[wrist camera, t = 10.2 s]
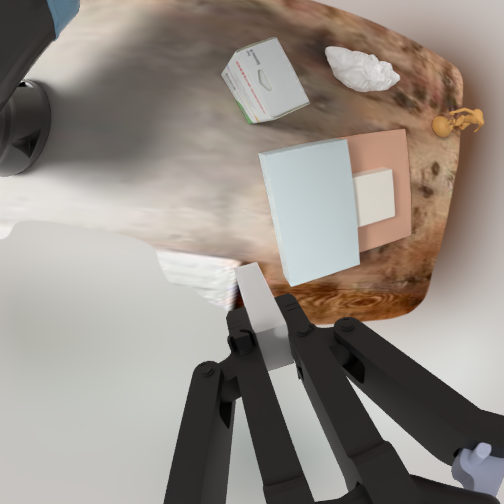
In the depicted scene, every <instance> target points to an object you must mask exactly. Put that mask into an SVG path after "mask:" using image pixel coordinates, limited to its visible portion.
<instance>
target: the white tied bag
mask: <svg viewBox="0 0 504 504" xmlns="http://www.w3.org/2000/svg"><path fill="white" fill-rule="evenodd" d="M325 54H326V56H327V61H328V62H329V64H330V66H331V68H332V72H333V74H334V76H335V77H336V78H337V79H338V80H340V81H341V82H342V83H343V84H344V85H346V86H347V87H348V88H352V89H354V90H356V91H360V92H368V91H375V90H376V91H382V90H388V89H389V88H390V87H391V86H393V85H394V84H396V83H397V81H399V80H400V76H399V75H398V74H397V73H395V72H394V71H393V68H392V66H391V63H388V62H386V61H385V62H384V61H380V62H379V61H378V59H377V58H376V57H375V55H372V54H371V55H367V54H365V53H363V52H359V51H353V52H351V51H350V50H348V49H346V48H341V47H333V46H331V47H327V48H326V49H325Z"/></svg>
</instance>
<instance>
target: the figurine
mask: <svg viewBox="0 0 504 504" xmlns="http://www.w3.org/2000/svg"><path fill="white" fill-rule="evenodd" d="M462 111H466V112H468V113H470V114H468V115H467V116H463V115H461V116H460V117H459V118H458V119H457V121H456V120H455V119H451V120H448V119H447V118H445V117H443V116H438V117H436V118H435V119H434V120H433V122H432V128H433V131H434V132H435V134H437V135H438V136H440V137H447V136H448V135H450V133H451V131H452V129H453V127H454V126H455V125H456V126H459V127H460V129H462V130H464V129H465V128H466V127H467V126H468V125H469V124H471V123H475V124H478V123H479V126H478V128H477V129H476V130H475V131H474V132H476V131H477V130H479V129H480V128H481V126H482V125H483V124H484V120H483V113H482V111H481V110H479V109H475V110H470V109H467V108H462V109H459V110H456V111H451V112H449V113H450V114H451V115H452V114H453V115H454V113H459V112H462ZM451 115H450V116H451ZM451 122H453V123H454V124H452V125H451ZM461 124H462V125H461Z"/></svg>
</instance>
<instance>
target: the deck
mask: <svg viewBox="0 0 504 504" xmlns="http://www.w3.org/2000/svg"><path fill="white" fill-rule="evenodd" d="M258 154H259V159H260V163H261V168H262V172H263V177H264V181H265V186H266V190H267V195H268V200H269V204H270V209H271V214H272V218H273V223H274V228H275V233H276V238H277V243H278V248H279V253H280V257H281V262H282V268H283V273H284V276H285V277H286V279H287V281H288V282H289V284H290V285H291V287H292V286H295V285H299V284H302V283H305V282H308V281H311V280H314V279H317V278H320V277H323V276H326V275H329V274H332V273H335V272H338V271H341V270H344V269H347V268H350V267H353V266H356V265H359V264H360V261H359V243H358V229H357V217H356V206H355V196H354V188H353V179H352V171H351V164H350V157H349V150H348V144H347V139H338V138H332V139H326V140H321V141H315V142H310V143H304V144H299V145H294V146H289V147H285V148H280V149H275V150H271V151H266V152H262V153H258Z"/></svg>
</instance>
